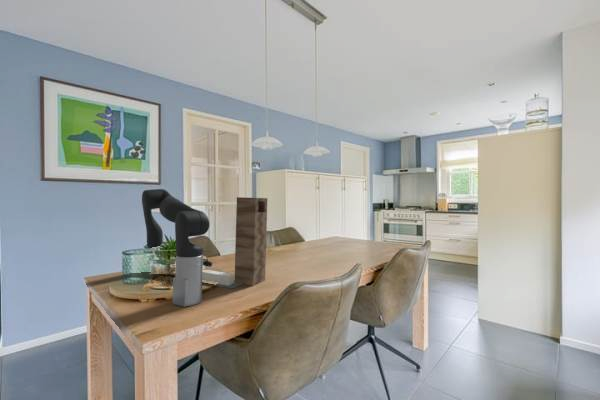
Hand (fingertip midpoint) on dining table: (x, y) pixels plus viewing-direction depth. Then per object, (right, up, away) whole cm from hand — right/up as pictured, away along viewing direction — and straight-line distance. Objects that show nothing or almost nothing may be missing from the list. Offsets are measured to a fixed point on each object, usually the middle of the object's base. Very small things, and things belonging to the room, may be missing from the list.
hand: (205, 266), depth 128 cm
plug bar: (+3, -6, -1) cm, 7 cm away
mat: (+5, -7, -2) cm, 9 cm away
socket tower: (+20, -7, +1) cm, 22 cm away
